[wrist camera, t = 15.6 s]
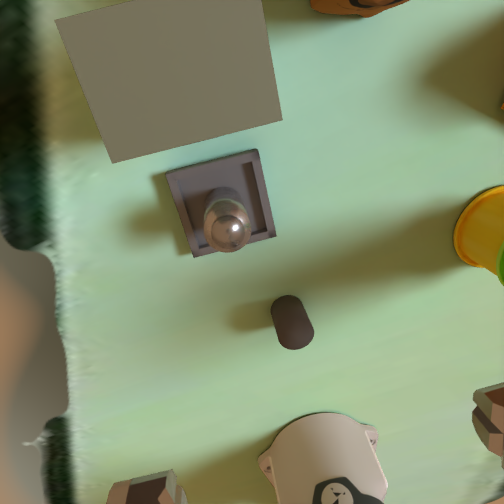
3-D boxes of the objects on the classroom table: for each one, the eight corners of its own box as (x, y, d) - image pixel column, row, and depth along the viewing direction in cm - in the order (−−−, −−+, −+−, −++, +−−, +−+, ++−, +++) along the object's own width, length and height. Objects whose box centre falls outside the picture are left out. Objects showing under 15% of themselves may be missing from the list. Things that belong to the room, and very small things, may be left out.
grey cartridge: (238, 182, 34) (245, 204, 28) (247, 219, 36) (256, 248, 29) (199, 192, 34) (197, 217, 28) (210, 228, 36) (211, 260, 29)
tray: (274, 231, 38) (276, 236, 36) (194, 251, 38) (193, 257, 36) (256, 148, 34) (258, 150, 32) (167, 171, 34) (165, 174, 32)
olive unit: (254, 112, 32) (283, 125, 20) (150, 139, 32) (114, 168, 20) (233, 15, 29) (253, -44, 16) (118, 45, 29) (49, 7, 16)
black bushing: (305, 318, 43) (316, 344, 39) (274, 326, 43) (281, 353, 39) (299, 291, 41) (311, 315, 37) (267, 300, 41) (275, 325, 37)
